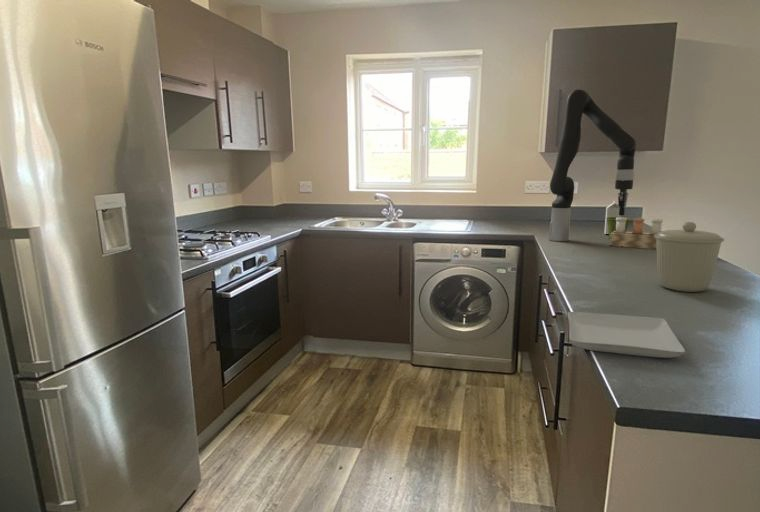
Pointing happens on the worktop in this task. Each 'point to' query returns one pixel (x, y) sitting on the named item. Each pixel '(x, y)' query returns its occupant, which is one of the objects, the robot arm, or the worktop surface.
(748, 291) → the worktop surface
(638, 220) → the terracotta plug
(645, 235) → the woven basket
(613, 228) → the plant pot
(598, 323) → the salad plate
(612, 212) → the milk carton
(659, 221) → the cream plug right
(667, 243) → the canister
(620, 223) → the cream plug left
